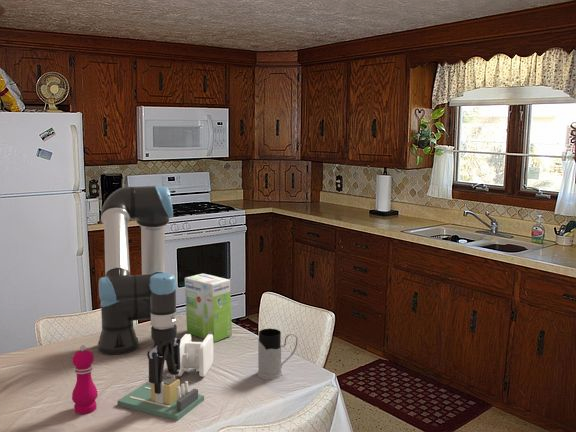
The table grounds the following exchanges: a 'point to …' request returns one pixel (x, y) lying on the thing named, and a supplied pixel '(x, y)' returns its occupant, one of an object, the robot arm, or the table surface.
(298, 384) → the table surface
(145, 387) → the board
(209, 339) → the cable organizer
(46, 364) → the table surface
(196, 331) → the toothbrush box
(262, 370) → the grey mug
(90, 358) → the pepper mill
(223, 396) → the table surface
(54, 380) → the table surface
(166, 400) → the plug block
